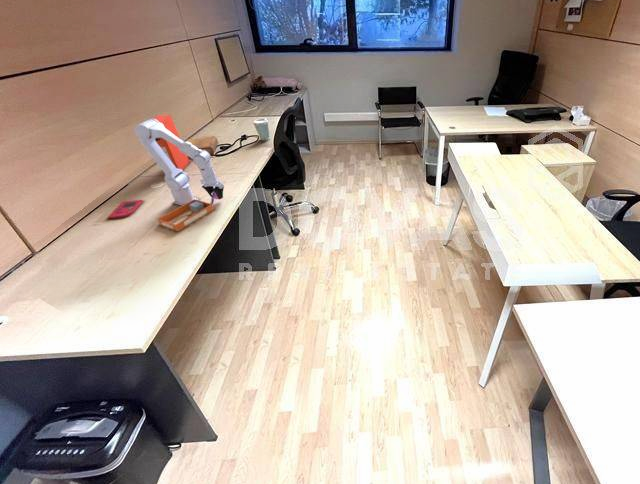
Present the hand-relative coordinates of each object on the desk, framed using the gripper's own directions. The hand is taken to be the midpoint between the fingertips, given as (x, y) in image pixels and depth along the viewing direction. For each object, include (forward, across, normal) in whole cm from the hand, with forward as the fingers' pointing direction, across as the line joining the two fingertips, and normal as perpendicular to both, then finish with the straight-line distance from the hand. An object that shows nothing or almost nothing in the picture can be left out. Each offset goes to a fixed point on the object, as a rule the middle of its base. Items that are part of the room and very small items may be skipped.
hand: (216, 197), depth 169 cm
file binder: (+3, -59, +19) cm, 62 cm away
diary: (+3, -71, +46) cm, 85 cm away
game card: (+2, 0, 0) cm, 2 cm away
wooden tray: (+2, -1, -17) cm, 17 cm away
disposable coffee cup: (+3, -45, +81) cm, 93 cm away
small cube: (+2, -1, -11) cm, 11 cm away
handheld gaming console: (+3, -37, -25) cm, 45 cm away
